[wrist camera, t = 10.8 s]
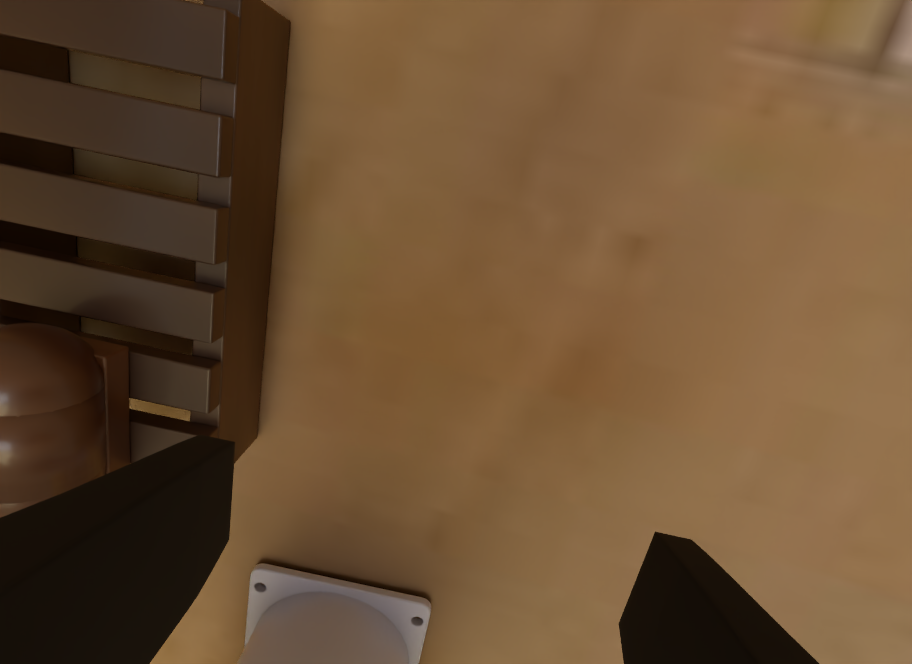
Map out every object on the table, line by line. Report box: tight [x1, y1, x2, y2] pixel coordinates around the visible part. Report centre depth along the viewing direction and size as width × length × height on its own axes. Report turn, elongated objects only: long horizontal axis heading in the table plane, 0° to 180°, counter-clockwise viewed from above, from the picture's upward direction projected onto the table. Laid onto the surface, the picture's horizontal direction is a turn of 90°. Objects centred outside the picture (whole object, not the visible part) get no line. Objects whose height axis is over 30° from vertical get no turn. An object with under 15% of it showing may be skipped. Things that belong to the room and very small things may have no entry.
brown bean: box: [0, 323, 130, 518], centre depth 14 cm, size 6×3×3 cm, turn 169°
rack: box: [0, 0, 290, 463], centre depth 16 cm, size 15×8×4 cm, turn 169°
